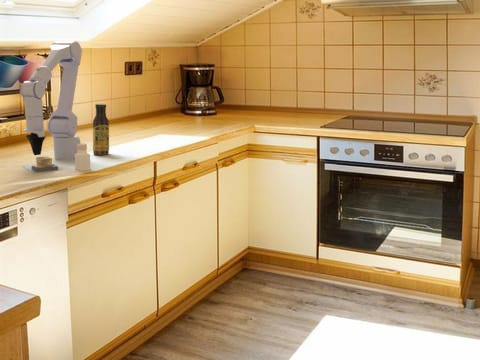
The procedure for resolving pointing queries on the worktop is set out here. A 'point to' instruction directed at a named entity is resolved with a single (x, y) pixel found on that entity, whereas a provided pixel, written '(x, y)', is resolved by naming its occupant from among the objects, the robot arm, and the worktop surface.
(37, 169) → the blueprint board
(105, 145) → the sauce bottle
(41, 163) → the maple block
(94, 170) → the worktop surface
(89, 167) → the pepper shaker
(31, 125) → the robot arm
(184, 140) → the worktop surface
